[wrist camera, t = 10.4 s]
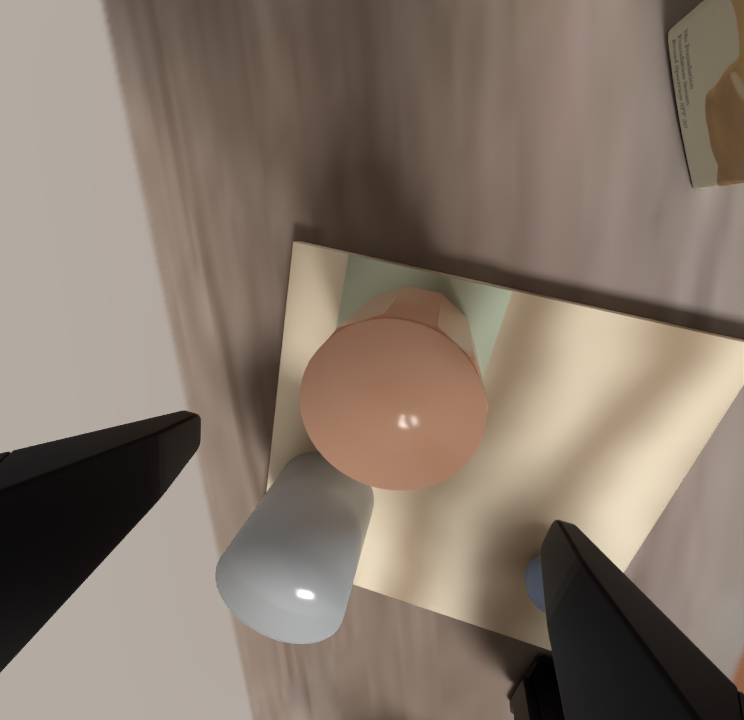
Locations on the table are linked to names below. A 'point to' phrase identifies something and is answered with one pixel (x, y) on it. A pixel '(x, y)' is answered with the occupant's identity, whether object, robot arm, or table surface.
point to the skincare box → (711, 90)
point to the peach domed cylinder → (397, 392)
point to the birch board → (519, 433)
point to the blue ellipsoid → (535, 583)
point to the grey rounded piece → (298, 552)
